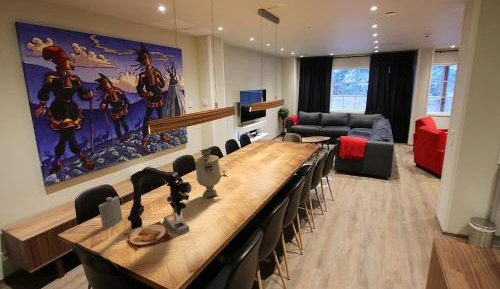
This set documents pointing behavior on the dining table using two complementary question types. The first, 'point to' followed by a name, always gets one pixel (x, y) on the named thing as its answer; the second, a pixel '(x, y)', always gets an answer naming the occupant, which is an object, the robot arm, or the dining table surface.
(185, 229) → the parts holder
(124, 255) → the dining table surface
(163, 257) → the dining table surface
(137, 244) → the plate with food
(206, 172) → the samovar
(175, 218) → the aluminium block
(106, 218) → the hip flask
